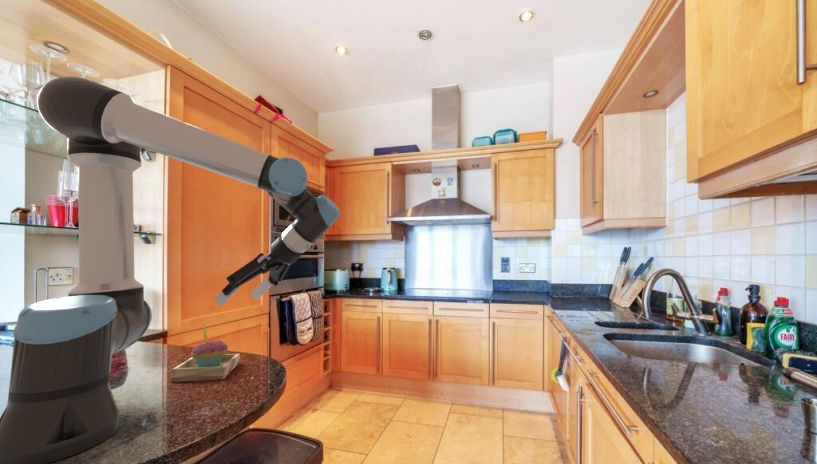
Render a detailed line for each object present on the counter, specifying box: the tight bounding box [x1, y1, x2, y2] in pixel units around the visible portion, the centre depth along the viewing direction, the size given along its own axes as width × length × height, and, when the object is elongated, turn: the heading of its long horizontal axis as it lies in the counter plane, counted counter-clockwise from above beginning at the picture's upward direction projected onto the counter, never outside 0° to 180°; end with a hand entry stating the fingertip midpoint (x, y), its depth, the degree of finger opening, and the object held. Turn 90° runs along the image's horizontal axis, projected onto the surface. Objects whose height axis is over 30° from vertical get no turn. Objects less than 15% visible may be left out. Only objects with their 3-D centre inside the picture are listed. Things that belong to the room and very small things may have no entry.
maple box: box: [170, 353, 241, 383], centre depth 86 cm, size 12×12×3 cm
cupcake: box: [190, 324, 229, 367], centre depth 87 cm, size 9×8×12 cm
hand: (237, 299), depth 86 cm, fingers open, 13 cm apart
